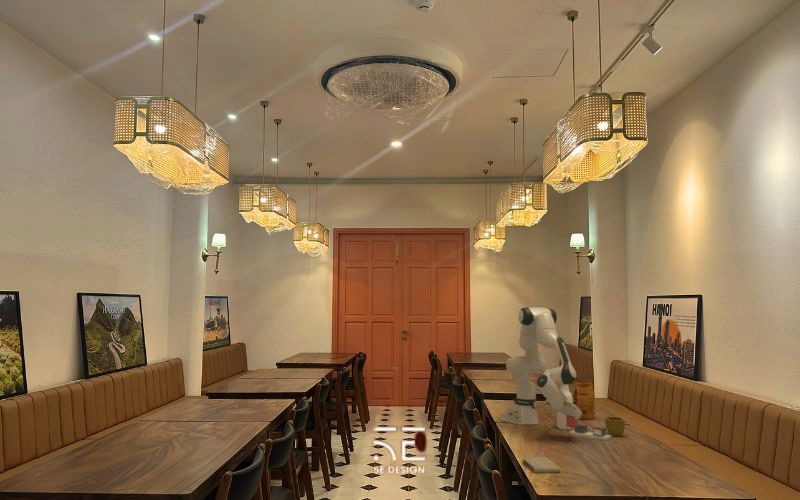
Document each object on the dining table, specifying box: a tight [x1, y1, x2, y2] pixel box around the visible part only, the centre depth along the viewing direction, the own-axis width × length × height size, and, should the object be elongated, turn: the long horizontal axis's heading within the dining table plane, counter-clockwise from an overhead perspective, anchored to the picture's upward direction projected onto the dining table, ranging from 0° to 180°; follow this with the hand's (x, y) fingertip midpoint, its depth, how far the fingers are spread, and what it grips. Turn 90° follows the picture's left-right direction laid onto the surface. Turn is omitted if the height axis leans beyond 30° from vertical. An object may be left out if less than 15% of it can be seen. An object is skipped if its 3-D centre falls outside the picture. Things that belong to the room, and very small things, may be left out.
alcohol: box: [556, 384, 574, 431], centre depth 318 cm, size 9×9×30 cm
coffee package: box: [572, 381, 596, 421], centre depth 347 cm, size 10×12×22 cm
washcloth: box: [522, 456, 562, 474], centre depth 242 cm, size 12×18×3 cm, turn 6°
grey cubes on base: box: [568, 422, 613, 442], centre depth 298 cm, size 20×8×6 cm, turn 51°
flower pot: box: [604, 416, 626, 437], centre depth 302 cm, size 9×9×9 cm
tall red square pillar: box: [566, 415, 579, 429], centre depth 297 cm, size 4×4×8 cm
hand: (572, 418), depth 297 cm, fingers closed on tall red square pillar, 4 cm apart
